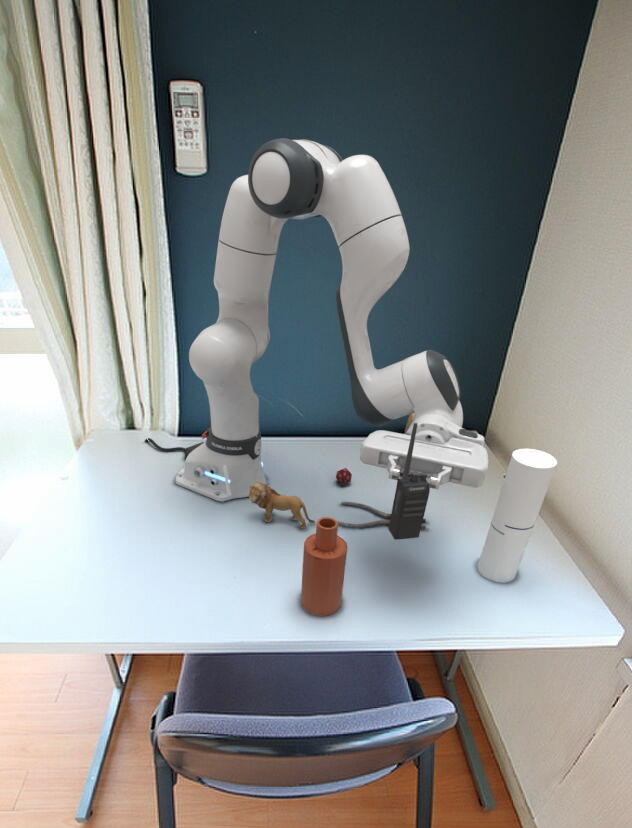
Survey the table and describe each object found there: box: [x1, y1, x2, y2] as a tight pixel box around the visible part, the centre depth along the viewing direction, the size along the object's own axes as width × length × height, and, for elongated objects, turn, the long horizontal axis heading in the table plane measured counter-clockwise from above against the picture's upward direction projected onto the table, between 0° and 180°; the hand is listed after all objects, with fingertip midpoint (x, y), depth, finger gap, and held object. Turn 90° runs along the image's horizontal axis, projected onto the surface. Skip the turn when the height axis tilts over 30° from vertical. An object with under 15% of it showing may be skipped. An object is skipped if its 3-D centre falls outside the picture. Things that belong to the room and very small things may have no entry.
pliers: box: [336, 501, 427, 530], centre depth 116 cm, size 10×1×20 cm
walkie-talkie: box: [387, 423, 431, 541], centre depth 80 cm, size 5×3×20 cm
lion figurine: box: [248, 483, 315, 530], centre depth 111 cm, size 15×5×9 cm, turn 81°
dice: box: [335, 467, 352, 486], centre depth 127 cm, size 4×4×4 cm
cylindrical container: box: [477, 448, 558, 584], centre depth 94 cm, size 7×7×25 cm
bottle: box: [300, 516, 348, 617], centre depth 88 cm, size 7×7×18 cm
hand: (413, 480), depth 78 cm, fingers closed on walkie-talkie, 5 cm apart
